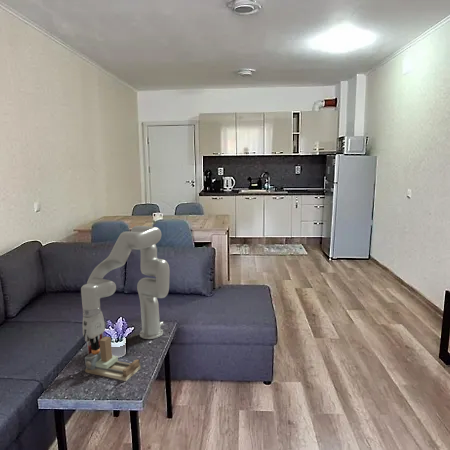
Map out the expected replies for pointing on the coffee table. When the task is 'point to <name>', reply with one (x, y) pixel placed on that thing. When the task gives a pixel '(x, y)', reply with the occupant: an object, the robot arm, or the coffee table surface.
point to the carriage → (106, 354)
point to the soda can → (90, 345)
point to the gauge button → (95, 351)
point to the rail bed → (111, 368)
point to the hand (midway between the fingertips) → (95, 349)
